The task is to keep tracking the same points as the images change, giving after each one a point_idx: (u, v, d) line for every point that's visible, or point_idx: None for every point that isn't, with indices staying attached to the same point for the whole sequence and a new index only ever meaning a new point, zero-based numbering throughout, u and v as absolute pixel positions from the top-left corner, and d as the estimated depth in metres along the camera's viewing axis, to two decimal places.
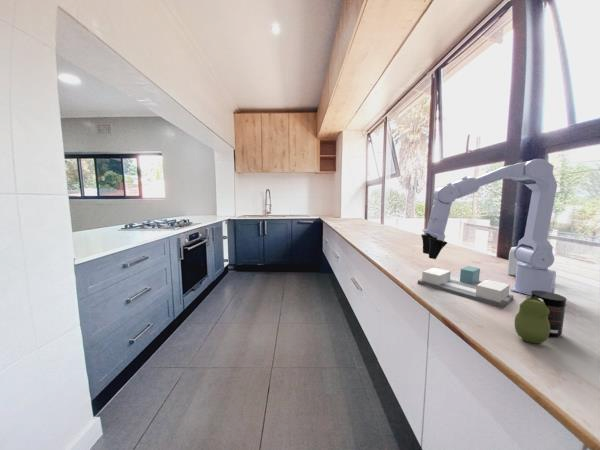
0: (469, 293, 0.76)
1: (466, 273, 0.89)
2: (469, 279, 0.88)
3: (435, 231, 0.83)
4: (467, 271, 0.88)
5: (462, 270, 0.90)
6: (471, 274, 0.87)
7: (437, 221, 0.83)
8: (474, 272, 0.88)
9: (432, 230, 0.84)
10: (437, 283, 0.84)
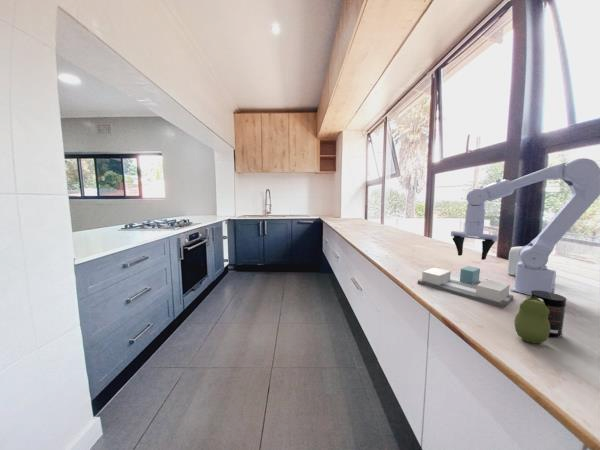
0: (469, 293, 0.76)
1: (466, 273, 0.89)
2: (469, 279, 0.88)
3: (481, 233, 0.86)
4: (467, 271, 0.88)
5: (462, 270, 0.90)
6: (471, 274, 0.87)
7: (482, 223, 0.86)
8: (474, 272, 0.88)
9: (479, 233, 0.86)
10: (437, 283, 0.84)
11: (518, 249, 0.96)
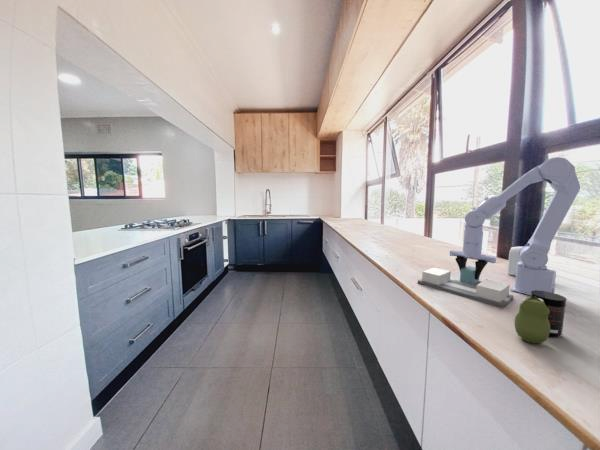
0: (469, 293, 0.76)
1: (466, 273, 0.89)
2: (469, 279, 0.88)
3: (479, 254, 0.87)
4: (467, 271, 0.88)
5: (462, 270, 0.90)
6: (471, 274, 0.87)
7: (480, 245, 0.87)
8: (474, 272, 0.88)
9: (477, 254, 0.87)
10: (437, 283, 0.84)
11: (518, 249, 0.96)
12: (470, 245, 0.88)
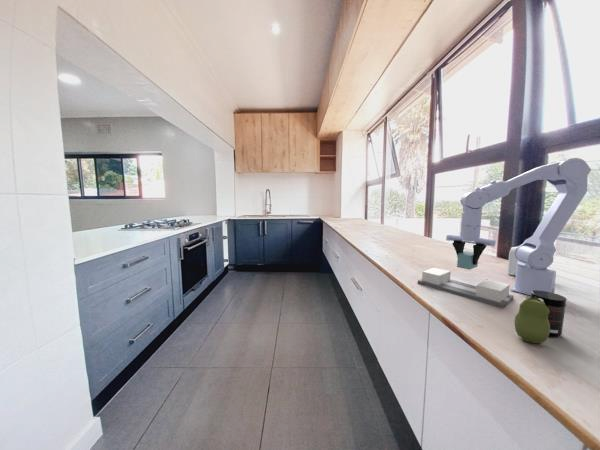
0: (469, 293, 0.76)
1: (463, 258, 0.84)
2: (466, 264, 0.83)
3: (477, 238, 0.82)
4: (465, 255, 0.83)
5: (459, 255, 0.85)
6: (469, 258, 0.82)
7: (478, 227, 0.81)
8: (472, 256, 0.83)
9: (475, 237, 0.82)
10: (437, 283, 0.84)
11: None
12: (468, 228, 0.82)
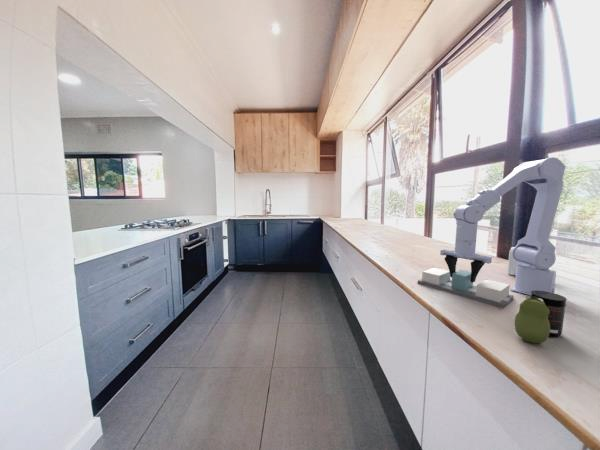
0: (469, 293, 0.76)
1: (458, 278, 0.79)
2: (461, 285, 0.79)
3: (473, 254, 0.78)
4: (459, 276, 0.79)
5: (454, 275, 0.80)
6: (464, 279, 0.78)
7: (473, 243, 0.77)
8: (467, 277, 0.79)
9: (470, 253, 0.78)
10: (437, 283, 0.84)
11: None
12: (463, 243, 0.78)
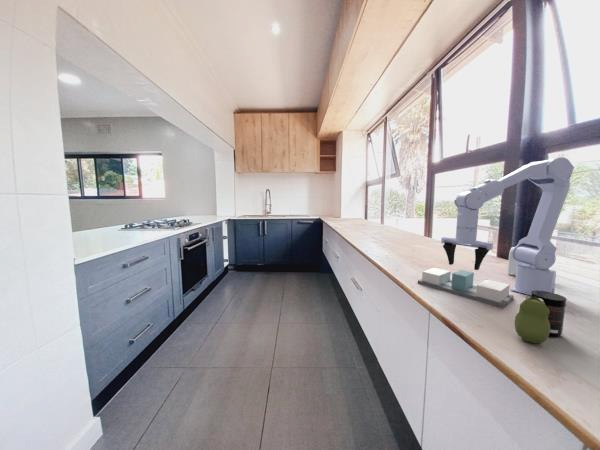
0: (469, 293, 0.76)
1: (458, 278, 0.79)
2: (461, 285, 0.79)
3: (474, 240, 0.77)
4: (459, 276, 0.79)
5: (454, 275, 0.80)
6: (464, 279, 0.78)
7: (474, 229, 0.77)
8: (467, 277, 0.79)
9: (471, 240, 0.77)
10: (437, 283, 0.84)
11: None
12: (464, 230, 0.78)
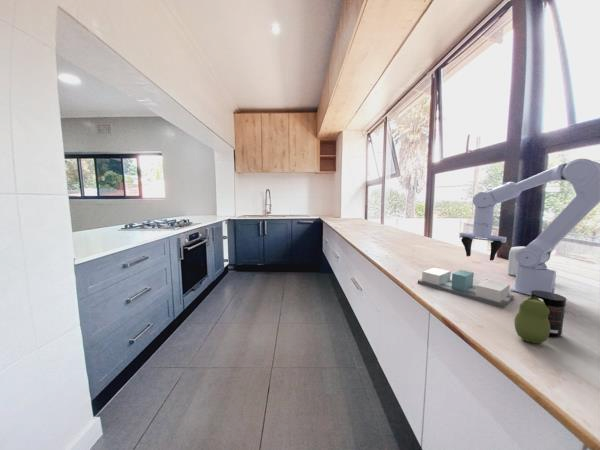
0: (469, 293, 0.76)
1: (458, 278, 0.79)
2: (461, 285, 0.79)
3: (489, 235, 0.89)
4: (459, 276, 0.79)
5: (454, 275, 0.80)
6: (464, 279, 0.78)
7: (490, 225, 0.88)
8: (467, 277, 0.79)
9: (487, 234, 0.89)
10: (437, 283, 0.84)
11: (518, 249, 0.96)
12: (480, 226, 0.89)
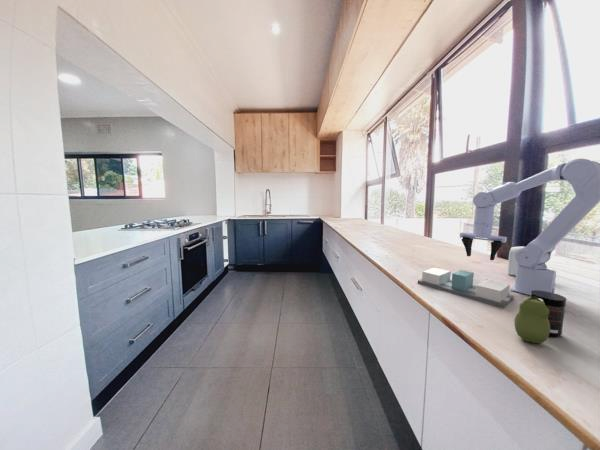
0: (469, 293, 0.76)
1: (458, 278, 0.79)
2: (461, 285, 0.79)
3: (490, 235, 0.89)
4: (459, 276, 0.79)
5: (454, 275, 0.80)
6: (464, 279, 0.78)
7: (490, 225, 0.89)
8: (467, 277, 0.79)
9: (487, 234, 0.89)
10: (437, 283, 0.84)
11: (518, 249, 0.96)
12: (481, 226, 0.89)
